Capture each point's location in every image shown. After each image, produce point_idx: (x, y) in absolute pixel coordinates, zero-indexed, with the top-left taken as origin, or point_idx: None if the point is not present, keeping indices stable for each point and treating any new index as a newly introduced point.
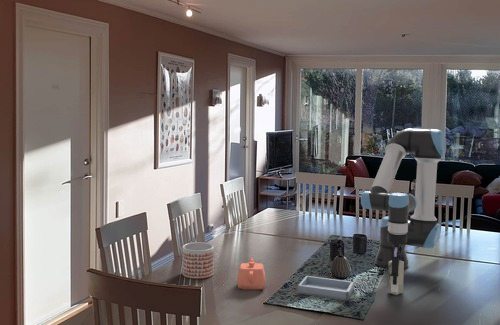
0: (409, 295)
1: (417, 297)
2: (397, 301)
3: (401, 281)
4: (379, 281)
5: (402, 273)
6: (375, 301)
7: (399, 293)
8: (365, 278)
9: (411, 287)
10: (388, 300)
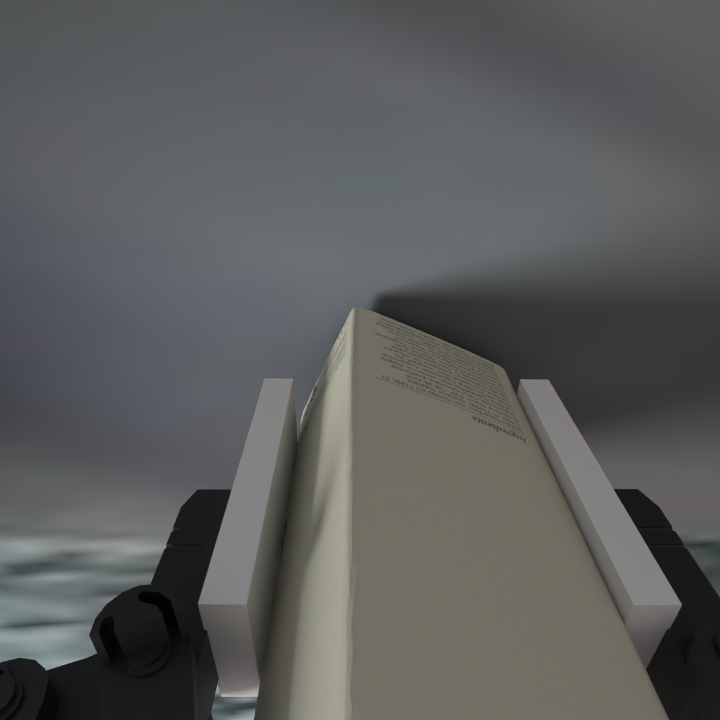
0: (417, 201)
1: (473, 62)
2: (700, 339)
3: (431, 433)
4: (72, 545)
5: (427, 561)
6: (716, 528)
7: (451, 344)
8: (73, 638)
9: (24, 190)
10: (673, 429)
